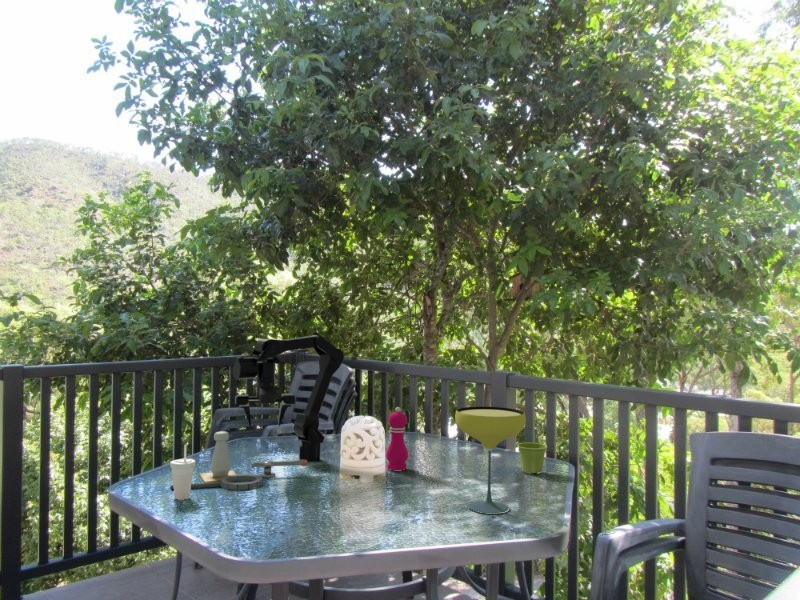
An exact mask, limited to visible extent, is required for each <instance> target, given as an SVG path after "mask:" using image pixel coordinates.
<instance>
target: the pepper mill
mask: <svg viewBox="0 0 800 600" xmlns="http://www.w3.org/2000/svg"><path fill="white" fill-rule="evenodd" d="M388 423H389V425H390V427H389V432H390V433H391V440H390V443H389V444H388V447H387V449H386V453H385V459H386V460H387V461H388V462H387V465H386V468H388V469H391V470H403V469H406V468H407V466H408V464H407V463H406V462H407V461H408V459H409V451H408V448H407V446H406V444H405V439H404V436H405V432H406V427H405V425H407V423H408V417H407V415H406V414H405V413H404V412H402V409H401V407H399V406H396V407H395V409H394V412H392V413H391V414H389V416H388ZM388 469H387V470H388ZM406 470H407V469H406Z"/></svg>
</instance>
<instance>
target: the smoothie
mask: <svg viewBox="0 0 800 600" xmlns="http://www.w3.org/2000/svg"><path fill="white" fill-rule="evenodd" d="M183 451H184V452H183V458H178V459H173V460H171V461H170V463H169V466H170V467H171V476H172V485H173V488H174V490H173V496H174V500H175V499H178V500H177V501H184V499H186V500H188V499H190V495H191V490H192V488H191V484H193V482H192V481H193V477H194V476H193V475H194V468H195V466H196V460H195V459H193V458H187V444H184V448H183Z"/></svg>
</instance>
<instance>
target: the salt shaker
mask: <svg viewBox="0 0 800 600" xmlns="http://www.w3.org/2000/svg"><path fill="white" fill-rule="evenodd" d="M213 439H214V441H216V442H215V445H214V450H213V453H212V454H213V455H212V460H211V464H210V468H209V469H210V471H211V472H212V473H213V476H214V477H225V476H227V475H228V473H229V471H231V460H230V459H231V458H230V453H229V452H230V451H229V446H228V440H229V439H230V433H229V432H228V431H222V430H220V431H217V432H215V433H214V435H213Z"/></svg>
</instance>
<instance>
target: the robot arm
mask: <svg viewBox="0 0 800 600" xmlns="http://www.w3.org/2000/svg"><path fill="white" fill-rule="evenodd" d="M310 348H313V350H314V352H315V353H316V355H318V356H319V361H318V369H319V371H318V374H317V377H316V379H315V382H314V385H313V388H312V390H311V393H310V396H309V398H308V400H307V404H306V407H305V409H304V411H303V412H301V413H300V412H297V414H296V417H295V419H294V421H293V422H292V424H293V431H294V434H295V435H296V437H297V439H298V441H300V445H299V446H298V458H299V459H298V460H299V461H300V460H303V459H305V460H307V463H309V462H321V461H322V459H321V444H322V443H323V442H324V441H325V436H324V435H323V434H322V433H321V431H319V426H320V416H319V414H320V411H321V409H322V406H323V403H324V401H325V397H326V396H327V392H328V390H329V386H330V383H331V380H332V379H333V376H334V374H336V373H337V371H338V370H339V369H340V367H341V365H342V364H343V361H344V359H345V354H344V352H343V350H342V349H341V348H337V347H336V346H335V345H333V344H332V343H330V342H329V341H327V339H325V338H324V337H323V336H322V335H316V334H315V335H314V334H312V335H308V336H301V337H295V338H294V337H293V338H287V339H286V338H285V339H275V338H274V339H272V338H261V339H258V340H257V342H256V343H255V345H254V349H253V350H252V351H251V353H250V354H249V355H248V357H242V356H239V357H235V362H234V364H233V367H232V375H233V378H234V379H235V380H245V379H254V378H255V377H256V396H249V394H248V393H247V394H246V393H245V394H236V395H235V397H234V403H235V406H238V407H239V408H241V409H243V411H244V412H245V415H246V419H247V420H246V421H247V422H248V427H249V428H251V427H252V418H251V410H250V408H251V407H250V404H251V403H259V404H264V405H265V404H275V403H276V402H277V403H279V410H278V411H279V412H278V420H277V423H278V424H277V425H278V427H280V426H281V423H282V421H283V417H284V415H285V413H286V411H287V410H288V408H290V407H292V405H296V396H295V395H294V394H293V393H282V392H283V391H282V387H276V383H275V382H276V379H275V378H276V376H275V375H276V365H278V364H282V360H280V358H278V356H279V355H282V354H283V353H285V352H289V351H296V350H302V349H303V350H304V349H310Z"/></svg>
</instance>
